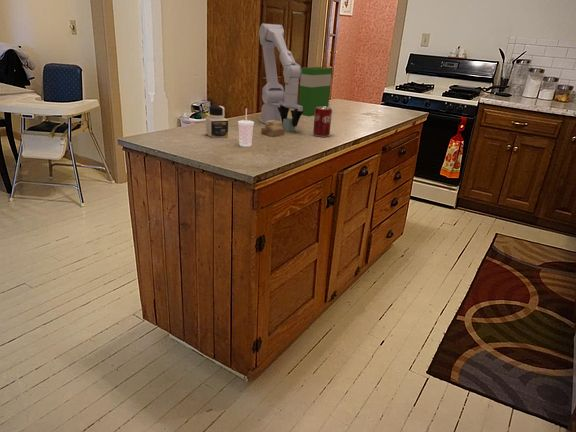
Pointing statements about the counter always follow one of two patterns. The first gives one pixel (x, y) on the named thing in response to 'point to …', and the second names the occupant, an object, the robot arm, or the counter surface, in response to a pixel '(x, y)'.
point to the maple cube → (273, 125)
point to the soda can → (322, 121)
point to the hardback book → (314, 89)
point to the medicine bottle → (216, 122)
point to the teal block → (288, 125)
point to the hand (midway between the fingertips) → (289, 124)
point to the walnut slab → (272, 132)
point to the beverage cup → (245, 132)
